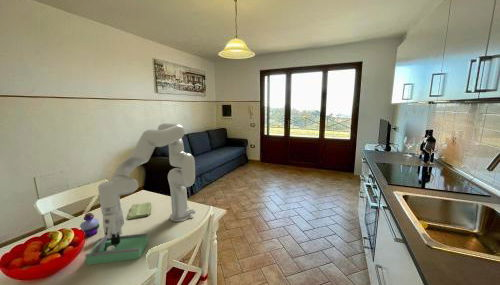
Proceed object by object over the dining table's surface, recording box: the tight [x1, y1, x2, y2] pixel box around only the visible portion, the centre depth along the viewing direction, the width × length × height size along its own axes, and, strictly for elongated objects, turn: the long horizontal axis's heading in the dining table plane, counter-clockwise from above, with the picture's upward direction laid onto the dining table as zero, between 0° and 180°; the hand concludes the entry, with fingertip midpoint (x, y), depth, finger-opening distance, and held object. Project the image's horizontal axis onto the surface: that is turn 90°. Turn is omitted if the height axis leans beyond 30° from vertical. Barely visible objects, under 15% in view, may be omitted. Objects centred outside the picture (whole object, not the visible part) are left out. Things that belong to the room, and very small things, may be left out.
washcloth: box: [127, 201, 152, 220], centre depth 138 cm, size 13×18×3 cm
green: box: [84, 232, 149, 266], centre depth 99 cm, size 22×12×6 cm, turn 100°
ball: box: [106, 246, 115, 251], centre depth 98 cm, size 4×4×4 cm
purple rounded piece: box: [79, 212, 100, 238], centre depth 114 cm, size 9×9×12 cm
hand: (116, 243), depth 99 cm, fingers closed
